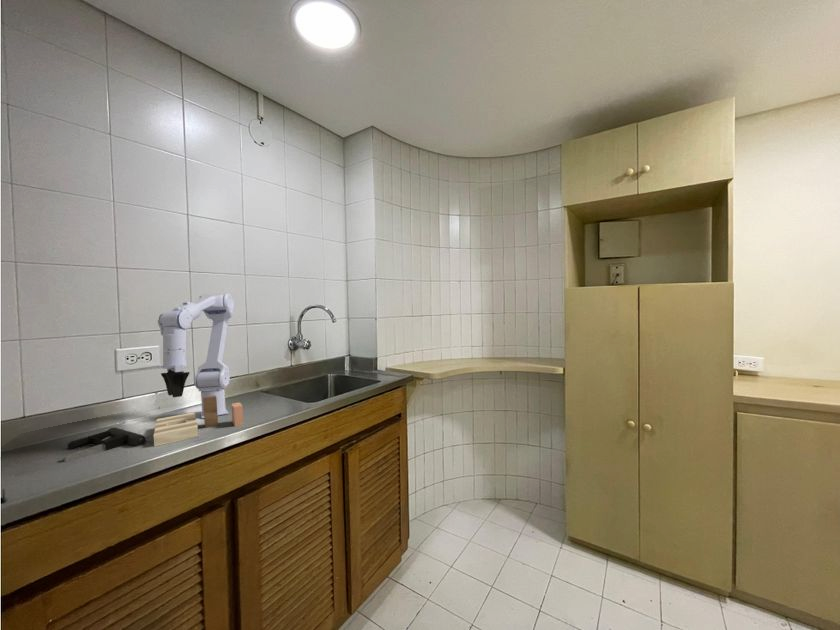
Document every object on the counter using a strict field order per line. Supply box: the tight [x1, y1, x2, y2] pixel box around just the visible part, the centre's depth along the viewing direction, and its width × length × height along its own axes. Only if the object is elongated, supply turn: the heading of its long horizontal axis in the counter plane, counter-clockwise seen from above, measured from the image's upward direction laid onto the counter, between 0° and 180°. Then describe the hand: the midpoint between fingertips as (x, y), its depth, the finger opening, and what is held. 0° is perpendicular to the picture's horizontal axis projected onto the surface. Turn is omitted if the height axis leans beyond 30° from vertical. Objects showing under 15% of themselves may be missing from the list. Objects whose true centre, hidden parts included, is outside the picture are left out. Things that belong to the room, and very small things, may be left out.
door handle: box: [62, 427, 149, 463], centre depth 94 cm, size 3×20×16 cm
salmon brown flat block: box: [231, 402, 244, 427], centre depth 110 cm, size 6×2×6 cm, turn 36°
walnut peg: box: [203, 396, 219, 429], centre depth 109 cm, size 3×3×9 cm
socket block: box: [153, 412, 199, 447], centre depth 104 cm, size 20×10×3 cm, turn 36°
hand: (175, 395), depth 102 cm, fingers open, 7 cm apart
